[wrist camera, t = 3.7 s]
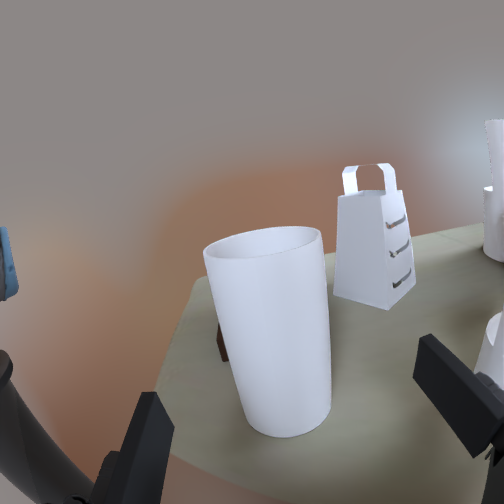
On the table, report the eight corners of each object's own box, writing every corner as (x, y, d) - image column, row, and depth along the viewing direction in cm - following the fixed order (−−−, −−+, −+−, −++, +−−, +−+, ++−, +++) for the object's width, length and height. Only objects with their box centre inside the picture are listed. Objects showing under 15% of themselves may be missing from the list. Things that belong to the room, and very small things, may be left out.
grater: (367, 273, 50) (357, 165, 44) (415, 283, 41) (411, 161, 36) (333, 295, 44) (319, 169, 39) (387, 310, 36) (380, 164, 30)
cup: (327, 373, 27) (315, 221, 22) (334, 433, 19) (329, 248, 15) (251, 380, 28) (218, 234, 24) (238, 438, 20) (185, 266, 16)
